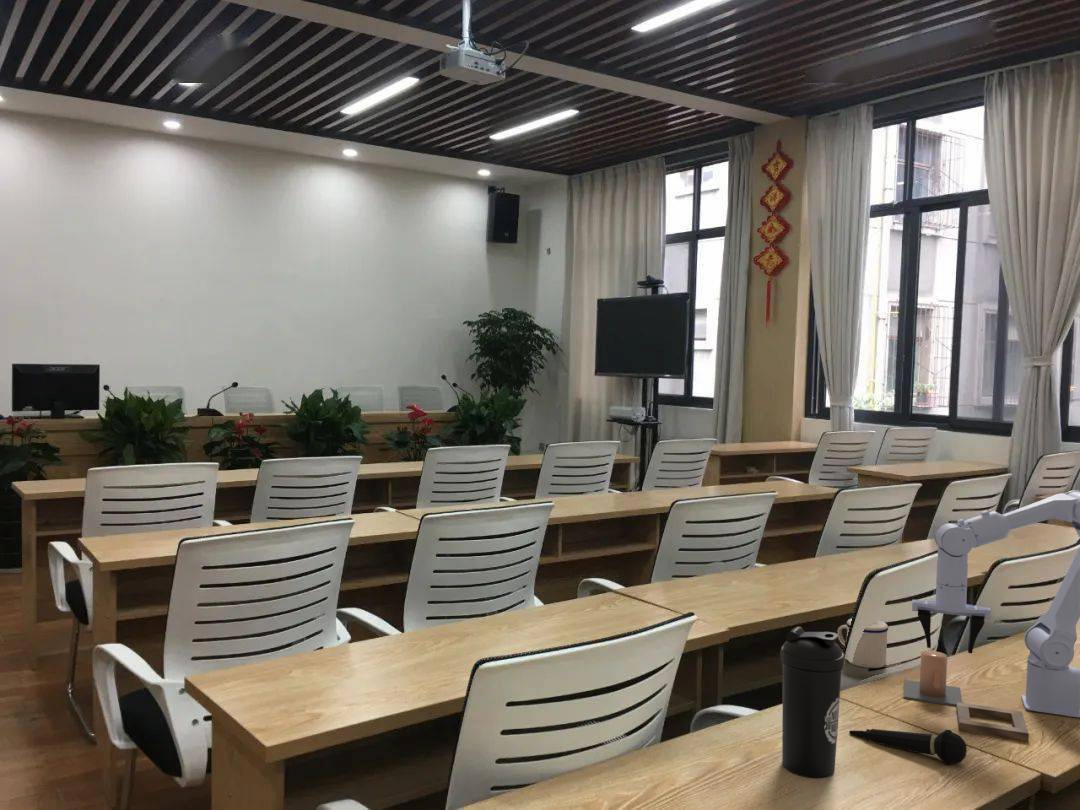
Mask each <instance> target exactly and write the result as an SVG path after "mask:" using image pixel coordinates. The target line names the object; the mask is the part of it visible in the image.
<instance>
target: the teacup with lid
mask: <svg viewBox="0 0 1080 810" xmlns="http://www.w3.org/2000/svg"><path fill="white" fill-rule="evenodd" d="M851 621H852V617H851V618H849V619H848V620H847V621H846V623H845V624H842V625H840V626H839V627H838V628H837V634H838V640H839V642H840V643H841V644H842V646H844V647H846V646H845V642H847V640H845V638H844V636H843V630H844V629H846V637H847V636H848V632H849V628H850V625H851ZM880 621H881V620H880ZM880 621H876V622H874V623H872V624H871V625H869V626H868V627H866V628H865V629H864V631H863V632H864V633H863V634H862V637H861V638H860V640H859V642H858V644H857V647H856V650H855V653H854V657H853V662H852V664H851V665H853V666H856V667H860V668H866V669H879V668H883V667H885V666H886V664H887V643H888V641H887V640H888V630H889V626H888V624H887V623H886V622H885V621H882V622H880Z"/></svg>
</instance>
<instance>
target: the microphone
mask: <svg viewBox="0 0 1080 810" xmlns="http://www.w3.org/2000/svg"><path fill="white" fill-rule="evenodd" d="M849 734H850V735H852V736H855V737H858V738H862V739H865V740H866V741H870V742H871V741H872V743H875V742H876V744H879V743H880V745H883V744H884V745H883V746H887V745H888V747H891V746H892V748H896V749H902V750H905V751H910V752H915V753H919V754H925V755H928V756H935V755H936V756H937V758H939V760H941V761H942V762H943V763H944V764H945V765H952V764H959V763H961V762H962V761H963V760H964V759H965V758H966V756H967V752H968V748H967V743H966V741H965V740H964V739H963V738H962V736H961V735H960V734H958V733H956V732H953V731H952V730H951V729H945V730H944V731H942V732H940V733H939V734H938V735H937V736H935V735H934V734H933V733H923V732H911V731H901V730H900V731H898V730H888V729H878V728H877V729H876V728H872V729H871V728H870V729H868V728H867V729H866V730H849Z"/></svg>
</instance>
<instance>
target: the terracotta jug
mask: <svg viewBox="0 0 1080 810" xmlns="http://www.w3.org/2000/svg"><path fill="white" fill-rule="evenodd" d="M919 669H920V671H919V682H920V692H921V693H922V694H925V695H928V696H933V697H943V696H945V695H946V686H947V673H948V670H947V669H948V655H947V654H946V653H943V652H941V651H935V650H932V649H931V650H930V649H928V650H924V651H921V652H920V668H919Z"/></svg>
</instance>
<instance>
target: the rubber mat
mask: <svg viewBox="0 0 1080 810" xmlns="http://www.w3.org/2000/svg"><path fill="white" fill-rule="evenodd" d="M961 690H962V689H961V687H960V686H959V687H958V686H952V685H946V695H945V696H943V697H933V696H928V695H925V694H922V693H921V692H920V681H917V680H910V679H903V699H906V700H911V699H912V700H913V701H918V700H920V701H919V702H925V701H926V702H925V703H933V704H939V705H947V706H952V707H956V702H961V703H963V698H962V697H963V696H962V691H961Z"/></svg>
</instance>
